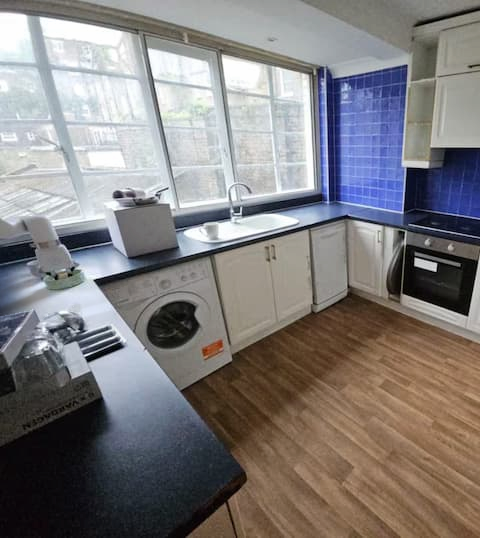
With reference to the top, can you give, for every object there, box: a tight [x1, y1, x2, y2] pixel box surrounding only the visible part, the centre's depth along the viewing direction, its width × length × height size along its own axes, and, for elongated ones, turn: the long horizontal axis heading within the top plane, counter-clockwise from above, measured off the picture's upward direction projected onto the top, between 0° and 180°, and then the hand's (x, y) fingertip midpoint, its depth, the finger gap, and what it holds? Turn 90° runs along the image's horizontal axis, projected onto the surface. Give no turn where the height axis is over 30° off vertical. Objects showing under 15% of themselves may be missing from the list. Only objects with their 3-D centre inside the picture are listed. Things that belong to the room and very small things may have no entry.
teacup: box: [26, 259, 63, 279], centre depth 140 cm, size 14×11×8 cm
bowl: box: [42, 268, 87, 291], centre depth 133 cm, size 13×13×4 cm
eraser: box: [58, 273, 68, 280], centre depth 132 cm, size 6×3×4 cm, turn 39°
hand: (66, 282), depth 133 cm, fingers closed on eraser, 3 cm apart
